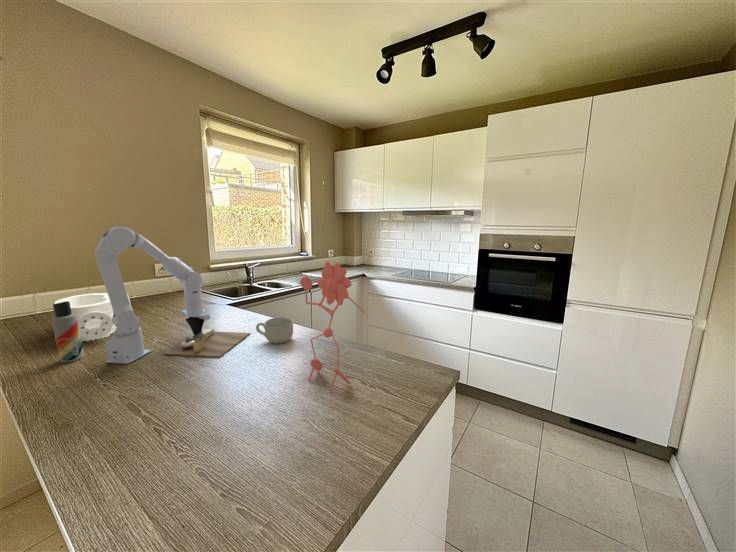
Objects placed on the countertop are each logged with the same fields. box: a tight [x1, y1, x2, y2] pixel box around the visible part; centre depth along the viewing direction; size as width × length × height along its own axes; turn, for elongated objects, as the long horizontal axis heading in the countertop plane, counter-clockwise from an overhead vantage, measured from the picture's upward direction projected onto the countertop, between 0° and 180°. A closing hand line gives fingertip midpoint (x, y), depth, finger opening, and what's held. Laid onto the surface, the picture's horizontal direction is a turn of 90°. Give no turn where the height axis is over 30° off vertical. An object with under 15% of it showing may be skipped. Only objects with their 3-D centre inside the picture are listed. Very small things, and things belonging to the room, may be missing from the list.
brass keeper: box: [193, 335, 208, 353], centre depth 105 cm, size 2×8×4 cm, turn 7°
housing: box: [54, 292, 131, 343], centre depth 124 cm, size 35×22×14 cm, turn 48°
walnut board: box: [162, 331, 251, 358], centre depth 111 cm, size 21×21×1 cm
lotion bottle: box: [51, 301, 84, 364], centre depth 97 cm, size 6×6×20 cm
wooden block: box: [181, 327, 215, 349], centre depth 111 cm, size 15×4×3 cm, turn 175°
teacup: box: [255, 316, 294, 345], centre depth 113 cm, size 14×11×8 cm
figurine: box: [299, 261, 366, 401], centre depth 85 cm, size 15×26×35 cm, turn 51°
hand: (197, 334), depth 115 cm, fingers closed
